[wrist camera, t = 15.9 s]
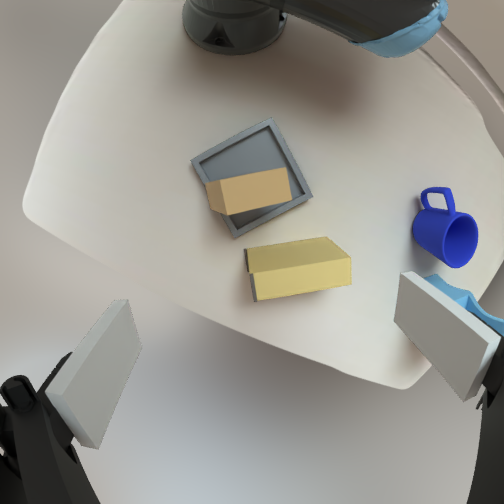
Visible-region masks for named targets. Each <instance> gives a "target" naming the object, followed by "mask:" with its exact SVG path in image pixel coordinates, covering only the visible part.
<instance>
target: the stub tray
mask: <svg viewBox="0 0 504 504" xmlns="http://www.w3.org/2000/svg"><path fill="white" fill-rule="evenodd" d="M190 161H191V163H192V164H193V166H194V168H195V170H196V171H197V173H198V175H199V177H200V178H201V180H202V182H203V184H204V186H205V183H208V182H212V181H216V180H221V179H226V178H230V177H235V176H240V175H245V174H250V173H255V172H260V171H266V170H272V169H278V168H284V167H286V169H287V175H288V180H289V185H290V191H291V196H292V200H291V201H287V202H282V203H278V204H273V205H269V206H265V207H261V208H256V209H252V210H248V211H244V212H240V213H236V214H232V215H228V216H227V215H225V214H222V213H220V214H221V215H222V217H223V219H224V221H225V222H226V224H227V226H228V227H229V229H230V231H231V233H232V234H233V236H234V238H236V237H238V236H240V235H242V234H244V233H245V232H247V231H249V230H251V229H253V228H255V227H257V226H258V225H260V224H262V223H264V222H266V221H268V220H270V219H272V218H274V217H275V216H277V215H279V214H281V213H283V212H285V211H287V210H289V209H291V208H293V207H294V206H296V205H298V204H300V203H302V202H304V201H306V200H308V199H310V198H312V197H313V195H312V193H311V191H310V189H309V187H308V185H307V183H306V181H305V179H304V177H303V175H302V173H301V171H300V169H299V167H298V165H297V163H296V161H295V159H294V157H293V155H292V153H291V152H290V150H289V148H288V146H287V144H286V142H285V140H284V138H283V137H282V135H281V133H280V131H279V129H278V128H277V126H276V124H275V122H274V120H273V119H272V117H271V118H269V119H267V120H265V121H263V122H261V123H259V124H257V125H255V126H253V127H251V128H249V129H247V130H245V131H243V132H241V133H239V134H237V135H235V136H233V137H231V138H229V139H228V140H226V141H224V142H222V143H220V144H218V145H217V146H215V147H213V148H211V149H209V150H208V151H206V152H204V153H202V154H201V155H199V156H197V157H195V158H194V159H192V160H190ZM205 187H206V186H205Z"/></svg>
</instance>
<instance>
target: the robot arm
mask: <svg viewBox="0 0 504 504" xmlns="http://www.w3.org/2000/svg"><path fill="white" fill-rule="evenodd" d="M287 13H288V14H291V15H293V16H296V17H298V18H301V19H303V20H306V21H308V22H311V23H313V24H315V25H317V26H320V27H322V28H324V29H326V30H328V31H331V32H333V33H335V34H337V35H339V36H341V37H343V38H345V39H347V40H348V42H350V43H351V44H353V45H357V46H361V47H363V48H365V49H367V50H369V51H371V52H373V53H375V54H376V55H379V56H381V57H386V58H389V57H394V58H395V57H400V56H404V55H406V54H409V53H411V52H413V51H415V50H416V49H418V48H419V47H421V46H422V45H423V44H425V43H426V42H427V41H428V40H430V39H431V38H432V37H433V36H434V35H435V34H436V32H437V31H438V30H439V29H440V27H441V24H440V23H441V22H442V21H444V20H445V19H446V16H447V13H448V4H447V1H446V0H186V1H185V4H184V7H183V12H182V18H183V24H184V26H185V29H186V31H187V33H188V35H189V37H190V38H191V39H192V40H193V41H194V42H195V43H196V44H197V45H199V46H200V47H202V48H204V49H206V50H208V51H211V52H214V53H218V54H224V55H242V54H248V53H252V52H255V51H258V50H261V49H263V48H265V47H267V46H268V45H270V44H271V43H272V42H274V41H275V40H276V39H277V38H278V37H279V35H280V34H281V32H282V30H283V28H284V25H285V22H286V19H287ZM394 322H395V323H396V324H397V325H398V326H399V327H400V329H401V330H402V331H403V332H404V333H405V334H406V335H407V336H408V337H409V339H410V340H411V341H412V342H413V343H414V344H415V345H416V347H417V348H418V349H419V350H420V351H421V352H422V353H423V355H424V356H425V357H426V358H427V359H428V360H429V361H430V363H431V364H432V365H433V366H434V367H435V369H436V370H437V371H438V372H439V373H440V374H441V376H442V377H443V378H444V379H445V380H446V382H447V383H448V384H449V385H450V386H451V388H452V389H453V390H454V391H455V392H456V394H457V395H458V396H459V398H460V399H461V400H462V401H463V402H464V401H466V400H468V399H470V398H472V397H474V396H476V394H477V392H478V391H479V388H480V386H481V384H483V385H484V386H485V387H486V389H485V391H484V393H483V395H482V397H481V399H480V401H479V403H478V404H477V407H476V409H478V408H479V406H480V405H481V404H482V403H483V405H482V409H481V410H482V421H481V432H480V440H479V448H478V455H477V460H476V466H475V471H474V476H473V481H472V485H471V490H470V493H469V497H468V501H467V504H504V336H503V335H501V334H500V333H499V332H498V331H496V330H495V329H494V328H493V327H491V326H490V325H489V324H488V325H487V323H486V322H485V321H484V320H481V318H480V317H479V316H477V315H476V314H475V313H473V312H470V311H468V310H466V309H465V308H463V307H462V306H461V305H459V304H458V303H457V302H455V301H454V300H452V299H451V298H450V297H448V296H447V295H446V294H444V293H443V292H441V291H440V290H439V289H437V288H436V287H434V286H433V285H432V284H430V283H429V282H427V281H426V280H424V279H423V278H422V277H420V276H419V275H417V274H416V273H414V272H413V271H410V272H404V273H400V280H399V288H398V296H397V304H396V310H395V317H394ZM141 349H142V346H141V342H140V340H139V336H138V333H137V330H136V326H135V323H134V319H133V316H132V312H131V309H130V305H129V302H128V300H114V301H113V302H112V304H111V305H110V306H109V307H108V308H107V310H106V311H105V312H104V313H103V314H102V316H101V317H100V318H99V319H98V321H97V322H96V323H95V325H94V326H93V327H92V328H91V329H90V331H89V332H88V333H87V335H86V336H85V337H84V338H83V340H82V341H81V342H80V344H79V345H78V346H77V348H76V349H75V350H74V352H70V353H68V354H67V355H66V356H64V357H63V358H62V359H61V360H60V362H59V363H58V364H57V365H56V368H54V370H53V371H52V372H51V374H50V375H49V376H48V377H47V379H46V380H45V382H44V383H43V384H42V386H41V387H40V389H39V390H38V392H37V393H36V391H35V390H34V388H33V386H32V384H31V383H30V381H29V379H28V378H27V377H26V376H24V375H17V376H13V377H11V378H9V379H7V380H6V381H5V382H4V383H3V384H2V386H1V387H0V394H1V395H2V397H3V399H4V400H5V402H6V403H7V405H8V406H6V407H5V406H2V405H1V404H0V447H1V448H2V449H3V450H4V455H3V456H2V455H1V454H0V504H100V502H99V500H98V498H97V496H96V494H95V492H94V490H93V488H92V486H91V484H90V482H89V480H88V478H87V476H86V474H85V471H84V469H83V467H82V465H81V462H80V460H79V458H78V455H77V453H76V450H75V448H74V446H73V445H72V444H71V441H72V439H73V437H75V438H76V439H77V441H78V442H79V443H80V444H81V446H85V447H89V448H94V449H99V447H100V444H101V442H102V439H103V437H104V434H105V432H106V429H107V427H108V424H109V422H110V419H111V417H112V415H113V412H114V410H115V407H116V405H117V403H118V400H119V398H120V396H121V393H122V391H123V389H124V386H125V384H126V382H127V380H128V378H129V375H130V373H131V371H132V369H133V366H134V364H135V362H136V360H137V358H138V356H139V353H140V351H141Z"/></svg>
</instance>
